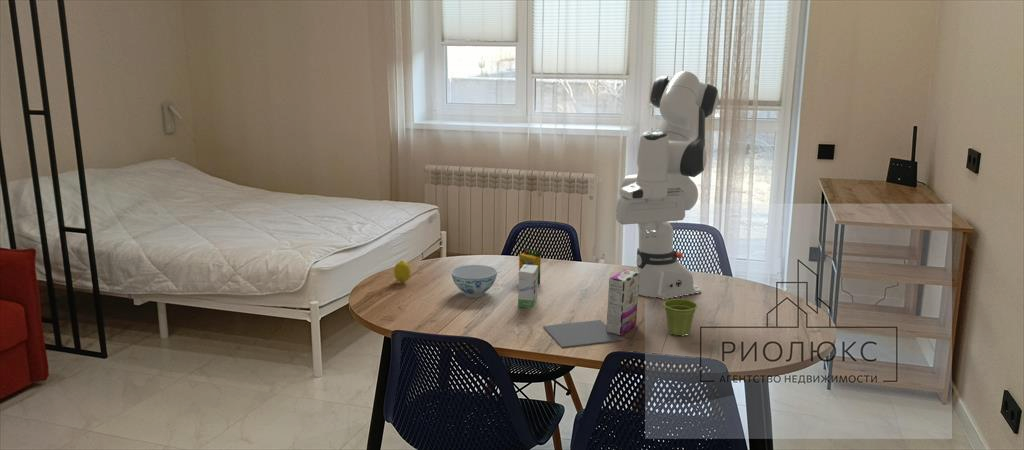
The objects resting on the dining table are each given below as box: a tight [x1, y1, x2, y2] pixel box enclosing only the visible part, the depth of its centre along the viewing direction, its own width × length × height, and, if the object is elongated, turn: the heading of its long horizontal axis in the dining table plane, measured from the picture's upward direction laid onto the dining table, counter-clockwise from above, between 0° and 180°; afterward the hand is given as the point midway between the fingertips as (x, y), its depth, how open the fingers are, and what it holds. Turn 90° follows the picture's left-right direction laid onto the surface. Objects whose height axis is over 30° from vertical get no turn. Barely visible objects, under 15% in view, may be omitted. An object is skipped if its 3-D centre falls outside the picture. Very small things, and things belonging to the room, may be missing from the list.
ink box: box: [517, 264, 539, 309], centre depth 245 cm, size 9×5×12 cm, turn 168°
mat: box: [542, 319, 624, 349], centre depth 222 cm, size 18×16×1 cm
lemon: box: [393, 260, 411, 284], centre depth 266 cm, size 6×6×8 cm
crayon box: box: [518, 247, 542, 285], centre depth 266 cm, size 7×3×12 cm, turn 49°
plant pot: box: [663, 298, 698, 336], centre depth 222 cm, size 9×9×9 cm
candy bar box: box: [606, 269, 640, 336], centre depth 223 cm, size 11×5×16 cm, turn 148°
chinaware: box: [450, 264, 498, 298], centre depth 255 cm, size 15×15×8 cm
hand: (649, 237), depth 221 cm, fingers closed
